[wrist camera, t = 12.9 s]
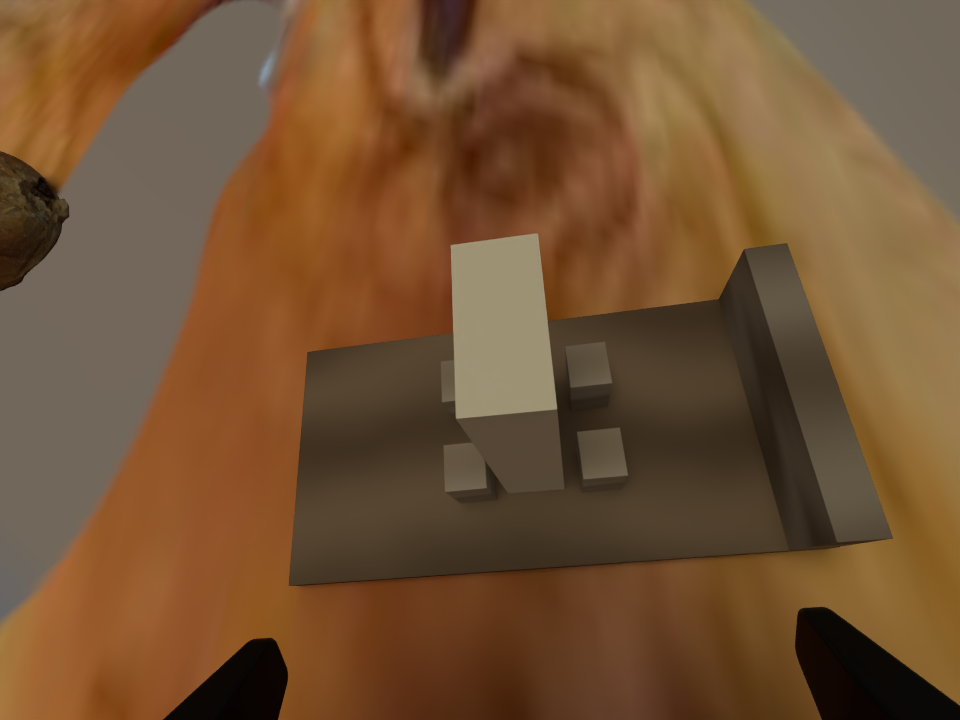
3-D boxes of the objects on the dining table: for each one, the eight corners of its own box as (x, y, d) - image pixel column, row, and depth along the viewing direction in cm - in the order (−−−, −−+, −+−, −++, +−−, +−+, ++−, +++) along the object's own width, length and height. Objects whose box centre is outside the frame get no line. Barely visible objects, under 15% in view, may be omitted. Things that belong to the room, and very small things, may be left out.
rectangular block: (564, 489, 22) (557, 409, 12) (489, 494, 23) (423, 422, 13) (552, 379, 24) (537, 233, 14) (483, 386, 25) (422, 248, 15)
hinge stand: (828, 548, 21) (900, 538, 16) (299, 585, 23) (233, 585, 19) (752, 304, 25) (792, 242, 21) (316, 359, 28) (266, 315, 23)
